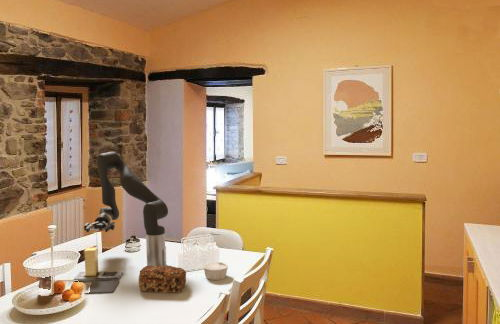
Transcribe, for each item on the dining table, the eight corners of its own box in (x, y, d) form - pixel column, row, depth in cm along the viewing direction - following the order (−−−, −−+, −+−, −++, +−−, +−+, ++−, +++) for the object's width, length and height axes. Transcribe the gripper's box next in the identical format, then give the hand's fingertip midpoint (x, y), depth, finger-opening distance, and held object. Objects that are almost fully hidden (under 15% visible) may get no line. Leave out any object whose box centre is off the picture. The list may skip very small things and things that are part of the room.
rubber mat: (119, 282, 197) (119, 281, 197) (112, 292, 185) (112, 291, 185) (92, 283, 196) (92, 282, 196) (84, 293, 184) (84, 292, 184)
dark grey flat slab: (122, 273, 208) (122, 270, 208) (118, 280, 200) (118, 277, 199) (80, 275, 207) (79, 272, 207) (73, 282, 198) (73, 278, 198)
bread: (138, 292, 186) (137, 270, 185) (147, 283, 196) (146, 261, 195) (180, 294, 183) (179, 271, 182) (187, 285, 194) (186, 263, 193)
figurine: (49, 297, 181) (47, 269, 180) (34, 296, 182) (32, 268, 181) (60, 290, 188) (58, 264, 187) (45, 289, 189) (44, 263, 188)
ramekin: (232, 276, 204) (232, 265, 203) (215, 283, 195) (214, 271, 195) (216, 271, 211) (216, 260, 211) (199, 277, 203) (198, 266, 203)
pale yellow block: (98, 276, 206) (97, 247, 204) (95, 279, 201) (94, 250, 200) (88, 276, 205) (87, 247, 204) (85, 280, 201) (84, 250, 199)
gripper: (89, 214, 225) (81, 223, 209) (117, 214, 227) (111, 222, 211) (89, 228, 226) (81, 238, 210) (117, 228, 228) (112, 237, 212)
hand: (96, 230), depth 211 cm, fingers open, 8 cm apart
